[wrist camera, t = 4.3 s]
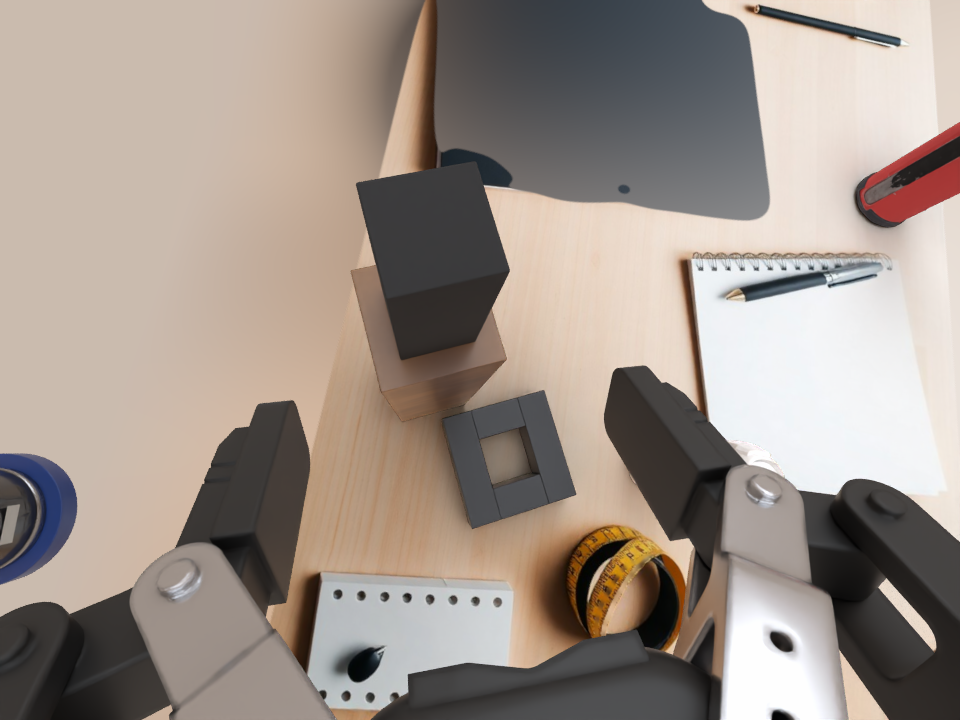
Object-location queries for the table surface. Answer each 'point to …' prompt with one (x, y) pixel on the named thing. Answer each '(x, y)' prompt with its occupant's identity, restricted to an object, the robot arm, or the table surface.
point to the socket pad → (541, 449)
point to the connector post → (434, 255)
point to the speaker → (913, 181)
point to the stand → (423, 359)
